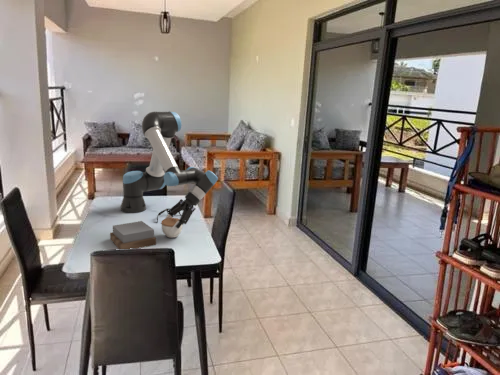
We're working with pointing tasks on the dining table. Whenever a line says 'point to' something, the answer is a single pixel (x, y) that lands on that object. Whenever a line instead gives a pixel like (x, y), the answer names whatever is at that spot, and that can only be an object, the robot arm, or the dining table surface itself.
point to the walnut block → (132, 244)
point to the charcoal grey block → (133, 231)
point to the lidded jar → (168, 224)
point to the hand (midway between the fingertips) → (166, 228)
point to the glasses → (167, 212)
